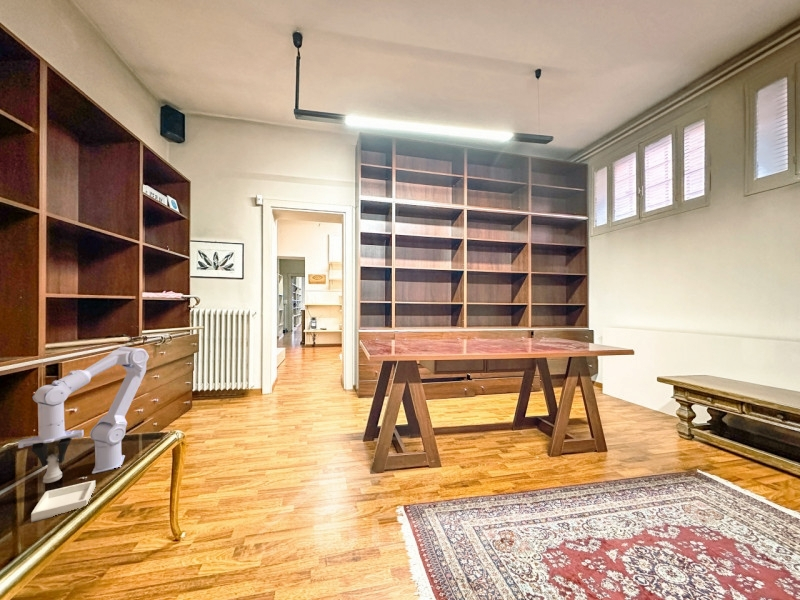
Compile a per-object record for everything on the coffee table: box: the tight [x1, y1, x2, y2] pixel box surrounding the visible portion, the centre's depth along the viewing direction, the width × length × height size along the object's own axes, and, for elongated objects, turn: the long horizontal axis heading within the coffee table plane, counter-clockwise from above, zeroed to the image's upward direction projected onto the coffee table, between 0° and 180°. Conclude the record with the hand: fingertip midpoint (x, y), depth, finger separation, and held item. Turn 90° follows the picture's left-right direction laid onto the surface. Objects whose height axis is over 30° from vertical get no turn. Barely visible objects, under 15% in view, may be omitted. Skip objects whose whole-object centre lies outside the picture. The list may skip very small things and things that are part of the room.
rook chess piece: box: [42, 452, 63, 484], centre depth 107 cm, size 4×4×8 cm
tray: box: [30, 479, 97, 523], centre depth 101 cm, size 12×12×2 cm
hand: (53, 463), depth 107 cm, fingers closed on rook chess piece, 3 cm apart
